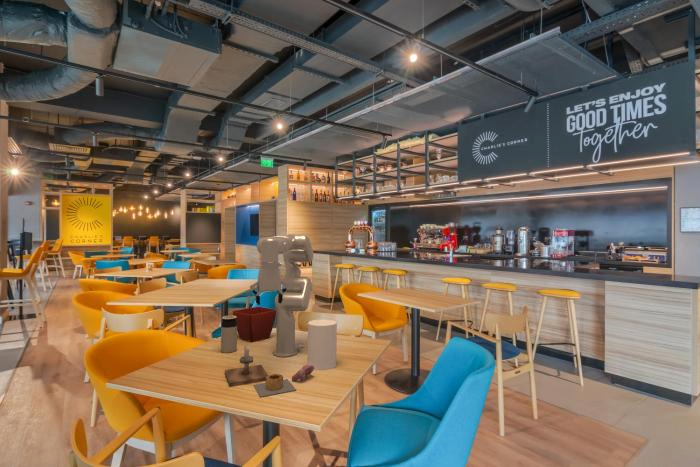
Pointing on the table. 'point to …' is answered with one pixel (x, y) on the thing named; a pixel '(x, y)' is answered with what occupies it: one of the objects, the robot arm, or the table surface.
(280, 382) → the wooden ring
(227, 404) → the table surface
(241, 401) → the table surface
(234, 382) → the post stand
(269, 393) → the rubber mat
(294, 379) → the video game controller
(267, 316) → the plant pot
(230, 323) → the travel mug
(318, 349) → the canister
